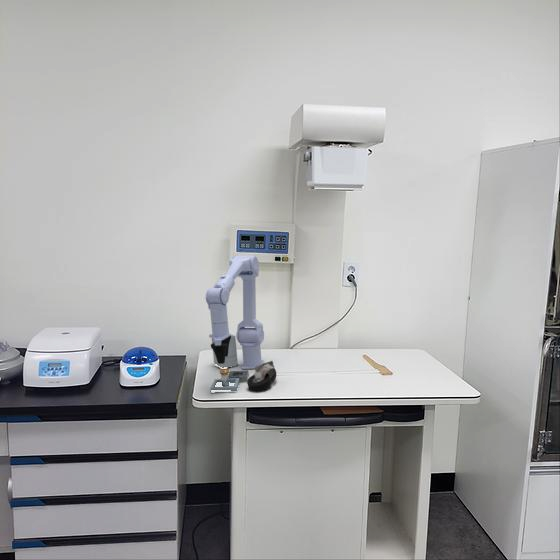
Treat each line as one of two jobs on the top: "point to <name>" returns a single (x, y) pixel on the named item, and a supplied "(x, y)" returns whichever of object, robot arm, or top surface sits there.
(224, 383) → the lock pin
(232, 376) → the tensioner block
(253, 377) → the caster wheel
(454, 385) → the top surface
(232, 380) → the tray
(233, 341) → the grey box
